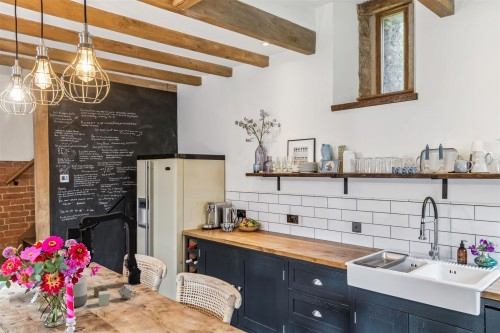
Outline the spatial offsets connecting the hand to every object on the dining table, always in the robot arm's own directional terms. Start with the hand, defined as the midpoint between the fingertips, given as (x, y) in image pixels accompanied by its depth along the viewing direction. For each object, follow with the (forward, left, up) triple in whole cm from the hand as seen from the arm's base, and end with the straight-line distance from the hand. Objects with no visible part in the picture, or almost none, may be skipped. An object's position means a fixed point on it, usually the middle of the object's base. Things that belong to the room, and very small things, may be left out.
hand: (86, 265), depth 219 cm
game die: (-16, +24, -15) cm, 33 cm away
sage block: (-4, +26, -14) cm, 30 cm away
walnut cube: (-5, +12, -15) cm, 20 cm away
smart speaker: (+8, +21, -15) cm, 27 cm away
